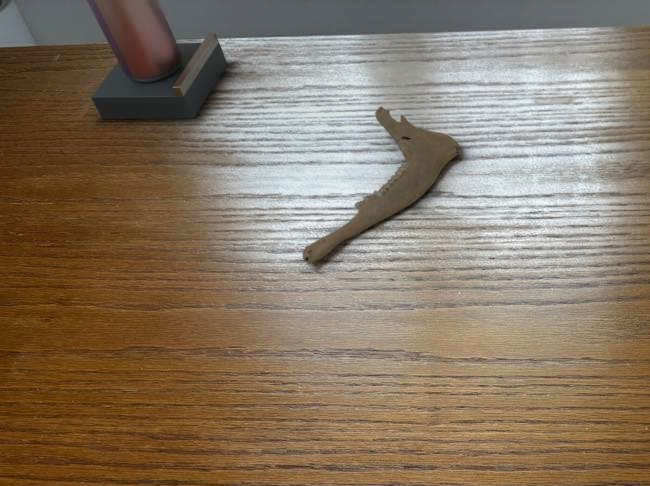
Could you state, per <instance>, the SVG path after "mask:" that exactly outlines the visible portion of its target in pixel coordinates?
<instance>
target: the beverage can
mask: <svg viewBox="0 0 650 486" xmlns="http://www.w3.org/2000/svg"><path fill="white" fill-rule="evenodd" d="M86 2H87V5H88V6H89V8H90V10H91V12H92V13H93V16H94V17H95V19H96V21H97V24H98V25H99V27H100V29H101V31H102V33H103V35H104V38H105V39H106V41H107V43H108V45H109V47H110V49H111V51H112V52H113V54H114V57H115V59H116V61H117V63H118V62H119V64H120V66H121V68H122V70H123V72H124V74H125V75H127V76H128V77H129V78H131V79H132V80H134V81H137V82H142V83H149V82H155V81H159V80H162V79H165V78H167V77H169V76H171V75H172V74H174V73H175V72H176V71H177V70H178V69H179V67H180V65H181V61H182V53H181V51H180V49H179V47H178V44H177V43H178V42H177V40H176V38H175V36H174V33H173V31H172V29H171V27H170V24H169V21H168V20H167V18H166V16H165V13H164V11H163V9H162V6H161V5H160V2H159V0H86Z"/></svg>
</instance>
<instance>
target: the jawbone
mask: <svg viewBox="0 0 650 486" xmlns="http://www.w3.org/2000/svg"><path fill="white" fill-rule="evenodd" d="M390 113H391V111H390V109H386V108H384V107H383V106H379V107H378V108H377V109H376V110H375V112H374V115H375V119H376V120H377V122H378V123H379V124H380V125H381V126H382V127H383V129H385V131H386V132H387V133H388V134H389V135H390V136H391V137H392V138H393V139H394V141H395V142H396V143H397V145H398V146H399V148H400V150H401V153H402V155H403V158H404V162H402V163H400V166H398V167H397V170H396V171H394V175H391V178H390V179H387V181H386V182H385V183H384V184H382V186H381V187H380V188H379V189H378V190H373V193H372V194H369V195H366V196H364V197H363V200H359V201H356V202H355V203H354V208H355V209H357V210H358V211H357V213H356V214H355V215H354V216H353V217H352V218H351V219H350V220H349V221H348V222H346V223H345V224H343V225H342V226H341V227H339V228H337V229H336V230H334V231H333V232H330V233H328V234H327V235H324V236H323V237H320V238H319V239H317V240H316V241H314V242H312V243H311V244H309V245H306V246H305V247H304V249H303V250H302V259H303V260H304V262H305V263H306V265H307V266H308V265H310V264H312V263H314V262H316V261H319V260H320V259H322V258H324V257H325V256H326V255H328V254H329V253H330V252H332V250H333V249H334V248H335V247H338V245H339V244H340V243H342V242H343V241H346V240H347V239H350V238H352V237H354V236H356V235H357V234H359V233H361V232H363V231H365V230H367V229H368V228H370V227H372V226H374V225H376V224H378V223H381V222H382V221H383V220H385V219H388V218H389V217H391V216H393V215H394V214H395V215H396V214H397V213H398V212H400V211H402V210H403V209H405V208H407V207H409V206H410V205H412V204H413V203H415V202H417V201H418V200H419V199H420V198H421V197H423V196H424V194H425V193H426V192H427V191H428V190H429V189H430V188H431V187H432V185H433V184H434V182H436V180H437V178H438V177H439V174H440V173H441V171H442V170H443V168H444V167H445V166H446V165H447V164H448V163H449V162H451V160H453V159H454V158H455V157H457V156H458V154H459V153H460V144H459V141H457V140H456V139H454V137H453V136H450V135H448V134H447V133H446V134H445V133H443V132H438V131H431V130H427V129H423V128H420V127H417V126H415V125H414V124H412V123H411V122H409V120H408V119H407V118H406V116H404V115H403V114H400V121H397V120H395V119H394V118H393V117H392V116H391V114H390Z"/></svg>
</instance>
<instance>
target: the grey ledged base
mask: <svg viewBox="0 0 650 486" xmlns="http://www.w3.org/2000/svg"><path fill="white" fill-rule="evenodd" d="M177 44H178V47H179V49H180V51H181V53H182V61H181V65H180V67H179V69H178V70H177V71H176V72H175V73H174V74H172V75H171V76H169V77H167V78H165V79H162V80H159V81H155V82H149V83H142V82H137V81H134V80H132V79H131V78H129V77H128V76H127V75H125V74H124V72H123V70H122V68H121V66H120V64H119V62H118V61H117V63H116V64H115V65H114V67H112V69H111V71H109V73H108V74H107V76H106V77H105V78H104V80H102V82H101V83H100V85H99V86H98V87H97V88H96V90H95V91H94V92H93V94H92V95H91V96H90V99H91V100H92V102H93V104H94V106H95V108H96V109H97V112H98V113H99V115H100V117H101V118H102V119H103V120H154V119H155V120H168V119H172V120H173V119H174V120H175V119H176V120H177V119H179V120H180V119H183V120H185V119H186V120H187V119H188V120H189V119H195V118H196V117H197V115H198V113H199V112H200V110H201V109H202V107H203V105H204V103H205V102H206V100H207V99H208V97H209V96H210V94H211V92H212V91H213V89H214V87H215V86H216V84H218V83H217V82H218V81H219V79H220V78H221V76H222V74H223V73H224V71H225V70H226V68H227V66H228V65H229V64H228V61H227V59H226V56H225V53H224V51H223V48H222V46H221V44H220V41H219V39H218V36H217V33H216V32H214V33H213V32H209V33H207V34H206V36H205V38H204V39H203V41H202V42H177Z"/></svg>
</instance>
